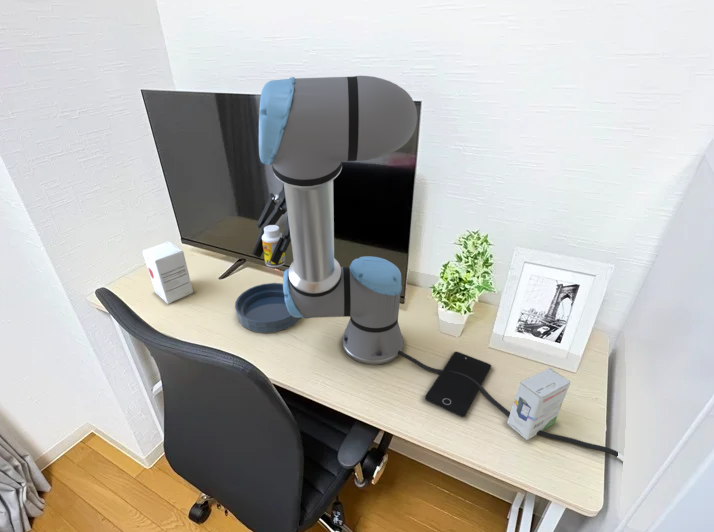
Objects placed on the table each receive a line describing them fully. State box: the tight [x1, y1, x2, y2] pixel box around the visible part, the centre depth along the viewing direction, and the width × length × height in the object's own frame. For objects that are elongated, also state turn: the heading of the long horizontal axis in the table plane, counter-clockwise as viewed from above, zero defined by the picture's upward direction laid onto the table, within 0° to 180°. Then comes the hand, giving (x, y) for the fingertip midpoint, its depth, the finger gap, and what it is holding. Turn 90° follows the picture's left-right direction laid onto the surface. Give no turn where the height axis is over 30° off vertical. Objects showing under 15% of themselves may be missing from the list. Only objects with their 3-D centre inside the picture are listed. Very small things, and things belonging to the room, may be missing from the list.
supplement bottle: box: [262, 224, 286, 268], centre depth 108 cm, size 6×6×10 cm
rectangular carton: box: [142, 241, 194, 305], centre depth 125 cm, size 9×9×15 cm
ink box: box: [506, 367, 572, 441], centre depth 81 cm, size 9×5×12 cm, turn 118°
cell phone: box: [424, 351, 492, 418], centre depth 94 cm, size 9×18×1 cm, turn 144°
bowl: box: [234, 282, 303, 334], centre depth 118 cm, size 19×19×4 cm
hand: (264, 259), depth 107 cm, fingers closed on supplement bottle, 6 cm apart
